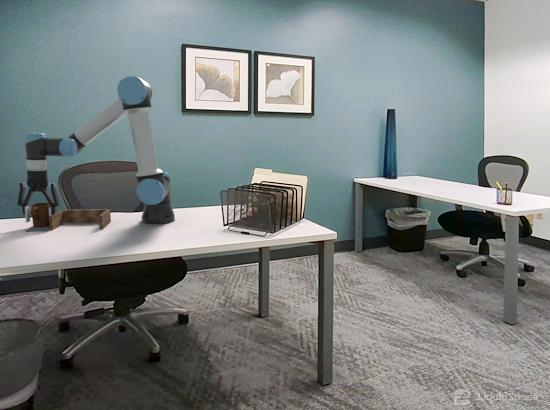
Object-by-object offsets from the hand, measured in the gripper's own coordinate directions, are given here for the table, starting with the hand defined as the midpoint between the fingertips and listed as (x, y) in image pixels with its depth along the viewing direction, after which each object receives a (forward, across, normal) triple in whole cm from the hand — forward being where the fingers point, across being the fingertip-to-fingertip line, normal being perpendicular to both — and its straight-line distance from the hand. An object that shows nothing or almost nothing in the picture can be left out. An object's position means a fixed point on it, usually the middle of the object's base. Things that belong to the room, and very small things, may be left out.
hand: (39, 221), depth 187 cm
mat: (+3, -1, 0) cm, 3 cm away
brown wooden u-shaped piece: (+2, -16, -2) cm, 17 cm away
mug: (+2, 0, 0) cm, 2 cm away
